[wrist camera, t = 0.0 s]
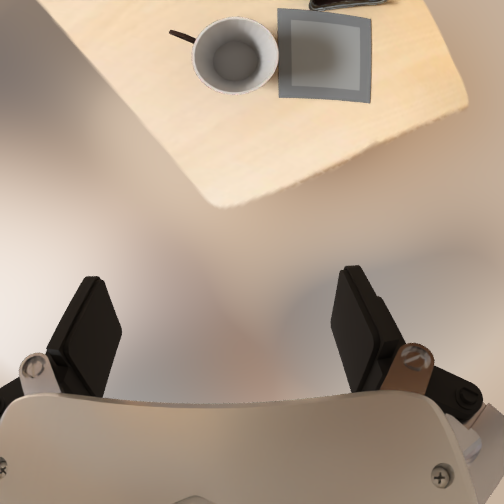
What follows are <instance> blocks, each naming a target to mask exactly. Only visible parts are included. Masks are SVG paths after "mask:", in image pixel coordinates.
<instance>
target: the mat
mask: <svg viewBox="0 0 504 504" xmlns="http://www.w3.org/2000/svg"><path fill="white" fill-rule="evenodd" d="M277 11H278V51H279V98H311V99H329V100H342V101H353V102H363V103H370V88H371V19H367V18H361V17H356V16H350V15H343V14H336V13H329V12H320V11H317V12H315V11H311V10H298V9H281V8H278V9H277Z"/></svg>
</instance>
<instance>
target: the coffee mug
mask: <svg viewBox="0 0 504 504" xmlns="http://www.w3.org/2000/svg"><path fill="white" fill-rule="evenodd" d="M169 34H171V35H174V36H176V37H179V38H181V39H184V40H186V41H188V42H191V43H193V44H194V45H193V49H192V64H193V68H194V71H195V73H196V75H197V76H198V78H199V79H200V80H201V81H202V82H203V83H204V84H205V85H206V86H207V87H209V88H211V89H212V90H214V91H216V92H219V93H222V94H228V95H241V94H246V93H250V92H252V91H255V90H257V89H258V88H260V87H262V86H263V85H264V84H265V83H266V82H267V81H268V80H269V79H270V78H271V77H272V75H273V74H274V72H275V70H276V67H277V64H278V59H279V51H278V47H277V43H276V41H275V39H274V37H273V35H272V34H271V33H270V31H269V30H268V29H267V28H265V27H264V26H263V25H262V24H260V23H258V22H257V21H254V20H252V19H249V18H244V17H228V18H223V19H220V20H217V21H215V22H213V23H211V24H210V25H208V26H207V27H206V28H205V29H204V30H203V31H202V32H201V33H200V34H199V36H198V37H197V38H196V39H195V38H193V37H191V36H189V35H186V34H184V33H180V32H177V31H174V30H170V31H169Z"/></svg>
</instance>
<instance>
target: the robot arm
mask: <svg viewBox="0 0 504 504" xmlns="http://www.w3.org/2000/svg"><path fill="white" fill-rule="evenodd" d="M331 329H332V332H333V335H334V338H335V341H336V344H337V348H338V350H339V354H340V357H341V360H342V363H343V366H344V370H345V373H346V376H347V379H348V383H349V386H350V389H351V392H352V393H349V394H340V395H333V396H325V397H315V398H305V399H295V400H284V401H271V402H253V403H229V404H228V403H223V404H190V403H161V402H160V403H159V402H144V401H130V400H119V399H109V398H102V397H103V394H104V391H105V387H106V384H107V380H108V377H109V373H110V370H111V367H112V363H113V360H114V357H115V354H116V350H117V348H118V345H119V342H120V339H121V335H122V328H121V326H120V323H119V320H118V318H117V316H116V313H115V310H114V307H113V305H112V302H111V299H110V296H109V294H108V291H107V288H106V285H105V282H104V281H103V280H101V279H100V277H98V276H94V277H93V276H92V277H91V276H88V277H85V278H84V279H83V281H82V283H81V284H80V286H79V288H78V290H77V291H76V293H75V295H74V297H73V298H72V300H71V302H70V304H69V306H68V307H67V309H66V311H65V313H64V315H63V317H62V318H61V320H60V322H59V324H58V326H57V328H56V330H55V332H54V334H53V336H52V338H51V340H50V342H49V344H48V346H47V348H46V349H47V352H46V354H43V353H34V354H31V355H29V356H27V357H26V358H25V359H24V360H23V361H22V363H21V365H20V367H19V376H20V377H18V378H16V379H15V380H13V381H11V382H10V383H8V384H6V385H5V386H3V387H1V388H0V504H485V503H486V501H487V500H488V498H489V497H490V495H491V494H492V493H493V491H494V489H495V488H496V487H497V485H498V484H499V482H500V480H501V479H502V477H503V476H504V415H502V414H501V413H500V412H499V411H498V410H497V409H496V408H494V407H493V406H492V405H491V404H490V403H488V404H487V405H485V404H484V403H483V397H482V393H481V391H480V389H479V388H478V387H477V386H476V385H474V384H473V383H471V382H469V381H466V380H464V379H462V378H460V377H458V376H456V375H454V374H451V373H449V372H447V371H445V370H443V369H441V368H439V367H436V366H434V361H435V360H434V357H433V354H432V353H431V351H430V350H429V349H428V348H426V347H425V346H423V345H421V344H417V343H408V344H406V343H405V341H404V339H403V337H402V335H401V333H400V331H399V329H398V327H397V325H396V323H395V321H394V320H393V318H392V316H391V314H390V312H389V310H388V308H387V306H386V305H385V303H384V301H383V299H382V298H381V297H379V296H376V293H375V292H374V290H373V288H372V286H371V284H370V282H369V281H368V279H367V277H366V275H365V274H364V272H363V270H362V268H361V267H360V266H359V265H355V266H345V268H344V270H341V271H340V273H339V279H338V285H337V290H336V296H335V301H334V306H333V312H332V317H331Z"/></svg>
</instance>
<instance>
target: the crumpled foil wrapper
mask: <svg viewBox="0 0 504 504" xmlns="http://www.w3.org/2000/svg"><path fill="white" fill-rule="evenodd" d="M386 1H387V0H310V3H309V9H310V10H311V11H315V12H317V11H325V10H326V9H329V10H330V9H336V8H342V7H343V8H344V7H354V6H357V5H358V6H359V5H376V4H377V5H378V4H381V3H384V2H386Z"/></svg>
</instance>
